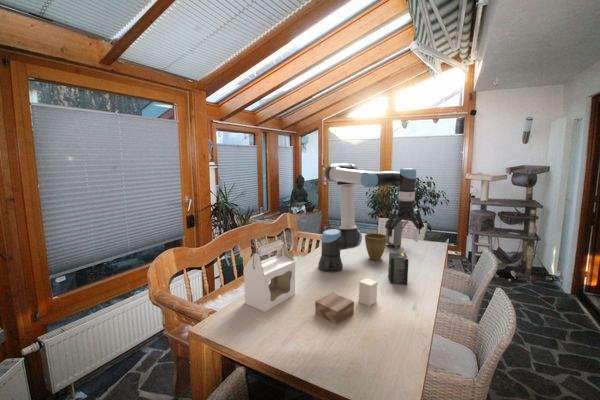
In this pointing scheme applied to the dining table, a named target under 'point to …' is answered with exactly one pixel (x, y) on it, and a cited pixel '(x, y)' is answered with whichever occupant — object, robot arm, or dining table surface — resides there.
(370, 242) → the plant pot
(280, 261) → the gable box
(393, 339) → the dining table surface
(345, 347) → the dining table surface
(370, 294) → the cream block
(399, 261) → the tampon box
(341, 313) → the walnut block
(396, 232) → the grey pitcher
